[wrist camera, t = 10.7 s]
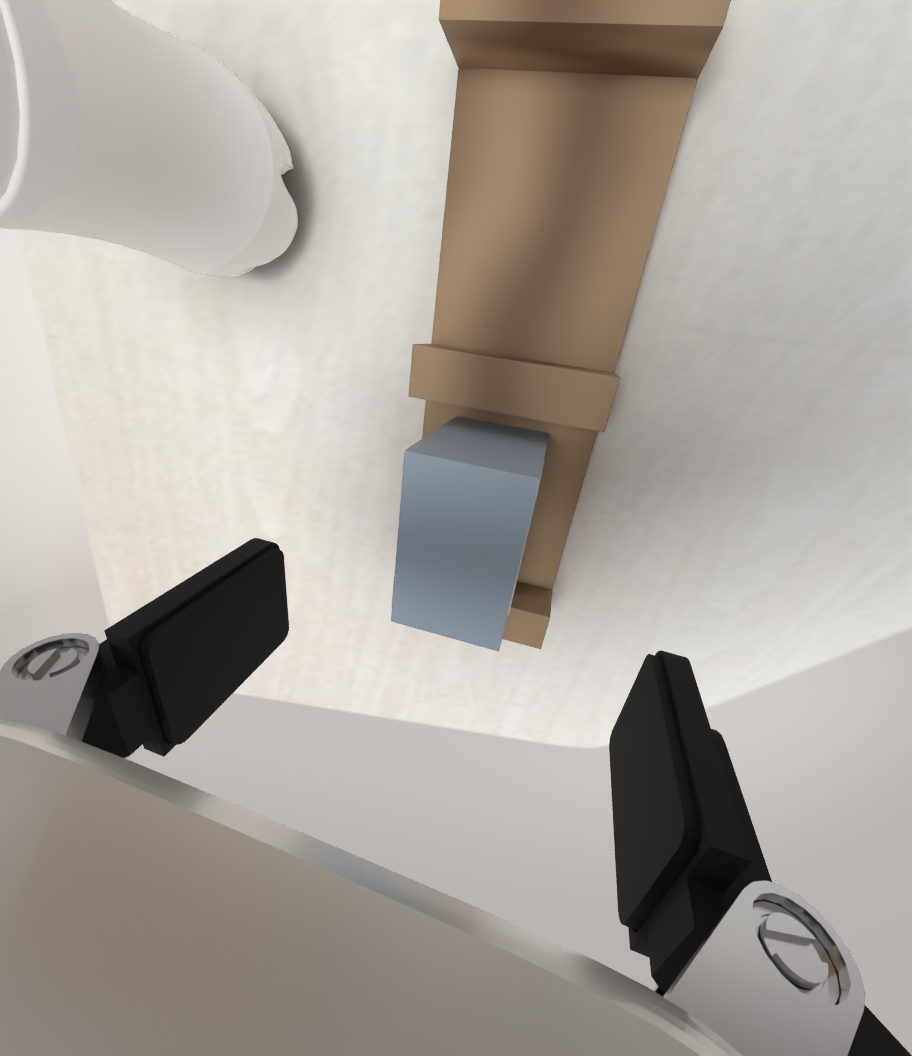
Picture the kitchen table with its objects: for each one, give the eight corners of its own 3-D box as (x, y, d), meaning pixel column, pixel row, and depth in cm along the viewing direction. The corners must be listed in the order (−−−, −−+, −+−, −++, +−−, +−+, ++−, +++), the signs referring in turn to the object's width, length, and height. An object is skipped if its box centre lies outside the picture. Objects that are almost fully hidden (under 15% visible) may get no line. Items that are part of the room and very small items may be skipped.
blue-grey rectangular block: (550, 433, 19) (541, 479, 13) (520, 564, 22) (500, 651, 16) (457, 415, 20) (404, 450, 13) (439, 544, 23) (390, 621, 17)
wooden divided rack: (708, 21, 14) (756, -89, 10) (545, 604, 24) (540, 649, 21) (476, 16, 15) (447, -84, 12) (416, 571, 26) (391, 608, 22)
